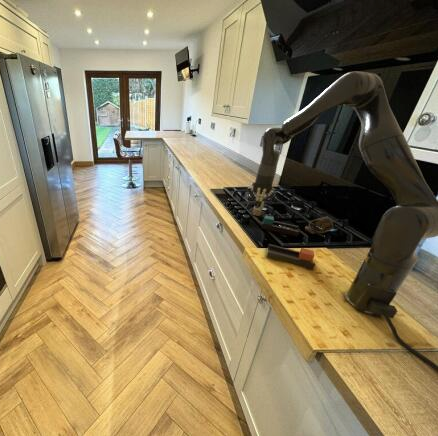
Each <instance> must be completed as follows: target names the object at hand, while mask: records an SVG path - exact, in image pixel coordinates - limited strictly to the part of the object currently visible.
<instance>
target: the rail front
mask: <svg viewBox="0 0 438 436" xmlns="http://www.w3.org/2000/svg"><path fill="white" fill-rule="evenodd" d="M267 246H268V247H267V250H266V255H265V256H266V258H268V259H271V260H274V261H278V262H282V263H285V264H289V265H293V266H297V267H300V268H304V269H308V270H311V271H314V269H315V266H316V263H315V262H314V259H313V260H312V262H309V261H305V260H302V259H299V253H300V251H298V250H295V249H290V248H287V247H282V246H278V245H275V244H270V243H268V245H267Z"/></svg>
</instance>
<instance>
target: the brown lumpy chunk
mask: <svg viewBox="0 0 438 436" xmlns="http://www.w3.org/2000/svg"><path fill="white" fill-rule="evenodd" d="M312 223H313V226H314V228H313V227H312V226H311V224H312ZM315 226H318V227H320V228H322V229H323V230H324V231H323V230H321V229H319V228H316V227H315ZM334 228H335V227H334V222H333V220H332V219H331V218H330V217H328V216H322V217H318V218H315V219H313V220H311V221H309V223H308V225H305V226H304V230H305V231H306V232H307V233H309V234H311V235H315V234H316V233H317V234H324V233H327V232H331V231H332V230H333V229H334ZM330 230H331V231H330Z"/></svg>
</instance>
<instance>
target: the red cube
mask: <svg viewBox="0 0 438 436" xmlns="http://www.w3.org/2000/svg"><path fill="white" fill-rule="evenodd" d="M299 252H300V253H299V259H302V260H305V261H309V262H312V260H313V261H314V258H315V252H314V250H313V249H309V248H308V249H307V248H304V247H301V248H300V251H299Z"/></svg>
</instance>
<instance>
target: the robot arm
mask: <svg viewBox="0 0 438 436" xmlns="http://www.w3.org/2000/svg"><path fill="white" fill-rule="evenodd" d="M340 106H342V107H352V108H353V109H354V111H355V113H356V115H357V117H358V118H359V122H360V125H361V126H360V127H361V128H360V133H359V138H358V149H359V152H360V154H361V157H362V160H363V162H364V164H365V166H366V168H367V169H368V171H369V172H370V173H371V174H372V175H373V176H374V177H375V178H376V179H377V180H378V181H380V183H382V184H383V185H384V186H385V188H386V189H388V191H389V192H390V194H391V195H392V197H393V200H394V201H395V204H396V205H394V206H392V207H390V208H389V209H387V210H386V211H385V212H384V213H383V215H382V216H381V218H380V220H379V221H378V223H377V225H376V228H375V230H374V233H373V235H372V238H371V240H370V245H371V246H370V249H369V251H368V252H367V254H366V256H365V258H364V260H363V262H362V264H361V266H360V267H359V268H358V271H357V273H356V275H355V277H354V279H353V280H352V282H351V284H350V285H349V288H348V290H347V291H346V293H345V294H344V298H345V300H346V301H347V302H348V303H349V304H350V305H351V306H352V307H353V309H354V310H356V311H359V312H362V313H365V314H367V315H370V316H371V315H372V316H375V317H378V318H382V317H384V319H385V321H386V323H387V324H388V325H389V328H390V330H391V332H392V335H393V337H394V338H395V340H396V341H397V342H398V343H399V344H400V345H401V346H402V347H403V348H405V349H406V350H407V351H409V352H410V353H411V354H412V355H415V356H416V357H417V358H419V359H421V360H423V361H424V362H426V363H427V364H428V365H430V366H431V367H432V368H433V369H435V370H436V371H437V372H438V365H437V364H436V363H435V362H433V360H431V359H429V358H428V357H426V356H425V355H423V354H421V353H420V352H418V351H416V350H415V349H414V348H412V347H411V346H410V345H408V344H407V343H406V342H405V341H404V340H403V339H401V337H400V335H399V334H398V332H397V329H396V327H395V325H394V323H393V322H392V320H391V319H394V317H395V316H396V315H397V313H398V310H397V309H398V308H396V306H395V305H392V304H391V303H392V301H394V299H395V298H396V296H397V292H398V291H399V289H400V288H401V286H402V285H403V284H404V282H405V281H406V279H407V278H408V276H409V274H410V273H411V271H412V270H413V268H414V267H415V265H416V264H417V262H418V260H419V256H418V254H417V253H415V251H417V250H416V249H417V247H418V246H419V244H420V242H421V241H422V240H423V239H424V240H426V239H431V238H436V237H438V199H437V197H436V196H435V195H434V192H433V191H432V190H431V188H430V187H429V185H428V184H427V182H426V180H425V178H424V176H423V173H422V170H421V169H420V167H419V165H418V163H417V161H416V159H415V157H414V154H413V152H412V150H411V147H410V145H409V143H408V140H407V138H406V136H405V135H404V133H403V131H402V129H401V127H400V125H399V123H398V121H397V119H396V117H395V115H394V113H393V110H392V109H391V106H390V104H389V100H388V97H387V94H386V90H385V86H384V83H383V80H382V78H381V77H380V76H379V74H376V73H374V72H368V71H359V70H355V71H349V72H347V73H344V74H343V75H342V76H340V77H338V79H336V80H335V81H334V82H333V83H332V84H330V85H329V87H327V88H326V89H325V90H324V91H323V92H321V93H320V94H318V96H317V97H316V98H314V99H313V100H312V101H311V102H310V103H309V104H308V105H307V106H305V107H304V108H303V109H301V110H299V111H298V112H296V113H295V114H293V115H292V116H290V117H289V118H287V119H285V121H284V122H283V123H282V124H281V127H269V128H267V129H266V130H264V133H263V135H262V138H261V139H262V140H261V142H262V145H261V146H262V155H261V159H260V163H259V165H258V169H257V172H256V176H255V180H254V183H253V185H252V186H248V187H247V191H248V193H249V195H250V197H251V199H253V200H254V206H255V208H259V207H260V206H261V203H262V201H265V202H267V201H268V200H270V199H271V198H273V197H274V196H275V195H276V194H277V193H276V191H275V190H274V189H273V183H274V179H275V177H276V173H277V168H278V163H279V160H280V158H281V157H280V155H281V152H279V150H275V146H282V145H285V144H287V143H288V142H290V141H291V140H292V139H293V138H294V137H295V136H296V135H298V134H300V133H302V132H303V131H305V130H307V129H308V128H311V127H312V126H313V125H314V123H315V122H316V121H317V120H318V119H319V117H321V116H322V115H323V114H324V113H327V112H328V111H329V110H330V111H331V110H333V109H335V108H338V107H340ZM254 192H255V193H254ZM255 194H256V195H255ZM260 194H261V197H260V200H259V195H260ZM265 194H268V195H266V197H265V198H263V197H264V195H265ZM257 205H258V206H257ZM254 206H253V207H254Z"/></svg>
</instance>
